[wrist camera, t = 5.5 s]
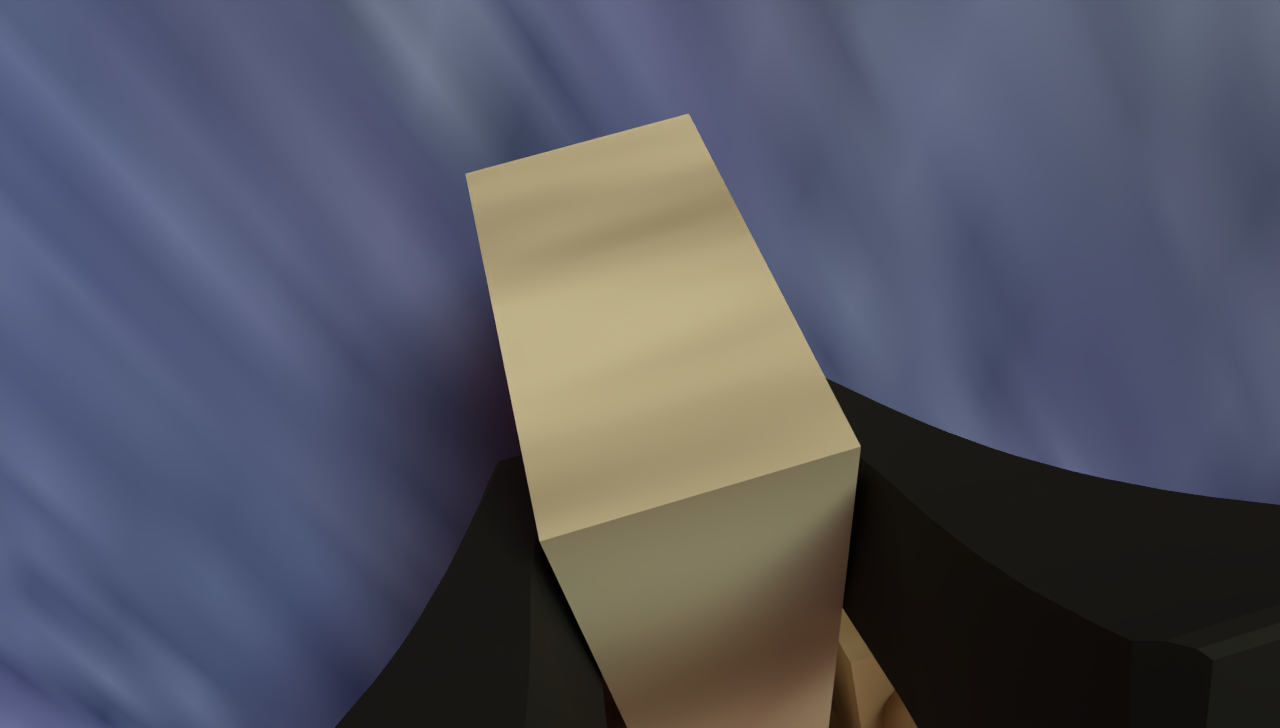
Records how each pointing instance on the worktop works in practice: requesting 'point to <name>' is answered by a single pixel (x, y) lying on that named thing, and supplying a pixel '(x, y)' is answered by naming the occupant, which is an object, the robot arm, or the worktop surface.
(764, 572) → the beige block
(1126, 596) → the robot arm
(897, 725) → the bracket
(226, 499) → the worktop surface
